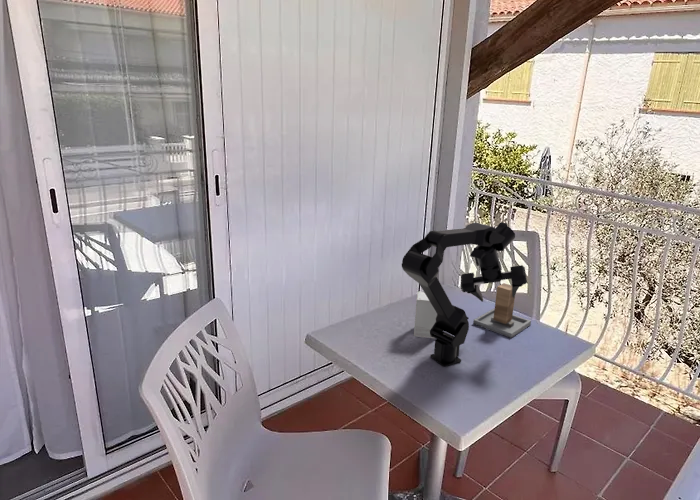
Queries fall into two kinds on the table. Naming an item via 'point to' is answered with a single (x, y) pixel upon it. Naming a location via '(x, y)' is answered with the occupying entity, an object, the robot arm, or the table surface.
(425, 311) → the supplement box
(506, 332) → the box
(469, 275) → the robot arm
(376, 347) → the table surface
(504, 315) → the tan slab
